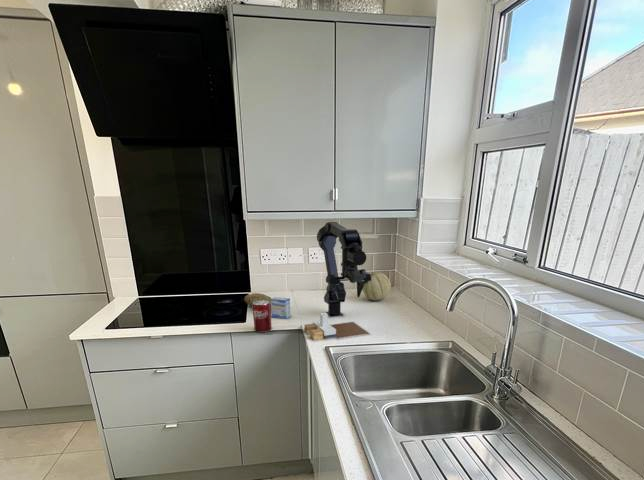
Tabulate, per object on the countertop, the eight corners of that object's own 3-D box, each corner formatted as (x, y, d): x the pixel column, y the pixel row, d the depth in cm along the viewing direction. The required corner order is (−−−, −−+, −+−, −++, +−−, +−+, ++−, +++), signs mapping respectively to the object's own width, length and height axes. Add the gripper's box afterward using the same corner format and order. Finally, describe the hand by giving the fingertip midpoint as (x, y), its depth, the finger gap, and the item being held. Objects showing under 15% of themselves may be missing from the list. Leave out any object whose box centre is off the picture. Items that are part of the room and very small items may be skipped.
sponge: (277, 314, 196) (269, 295, 212) (274, 300, 191) (266, 282, 207) (251, 321, 194) (245, 302, 209) (247, 307, 189) (241, 288, 204)
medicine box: (271, 317, 188) (270, 299, 184) (275, 314, 191) (274, 296, 188) (286, 318, 185) (285, 300, 182) (290, 316, 189) (290, 298, 186)
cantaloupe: (395, 299, 214) (397, 271, 209) (378, 305, 205) (379, 276, 199) (373, 294, 224) (374, 267, 218) (356, 300, 214) (356, 271, 208)
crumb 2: (310, 337, 163) (310, 330, 162) (320, 335, 165) (320, 328, 164) (314, 340, 160) (314, 333, 159) (323, 339, 161) (323, 332, 160)
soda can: (266, 333, 167) (264, 305, 162) (251, 331, 169) (248, 304, 165) (274, 328, 173) (273, 301, 169) (259, 326, 176) (257, 299, 171)
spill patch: (323, 326, 175) (323, 326, 175) (352, 322, 180) (352, 321, 180) (337, 338, 161) (337, 338, 161) (369, 334, 166) (369, 333, 166)
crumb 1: (304, 331, 170) (304, 324, 169) (313, 330, 171) (313, 323, 170) (307, 334, 166) (307, 327, 165) (316, 332, 168) (316, 326, 167)
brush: (313, 329, 172) (312, 310, 169) (324, 327, 174) (323, 308, 170) (324, 339, 161) (324, 319, 158) (336, 337, 163) (336, 317, 159)
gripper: (335, 266, 156) (335, 305, 162) (378, 262, 163) (376, 300, 169) (325, 261, 166) (325, 298, 172) (365, 258, 173) (365, 294, 179)
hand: (348, 298), depth 173 cm, fingers open, 9 cm apart
